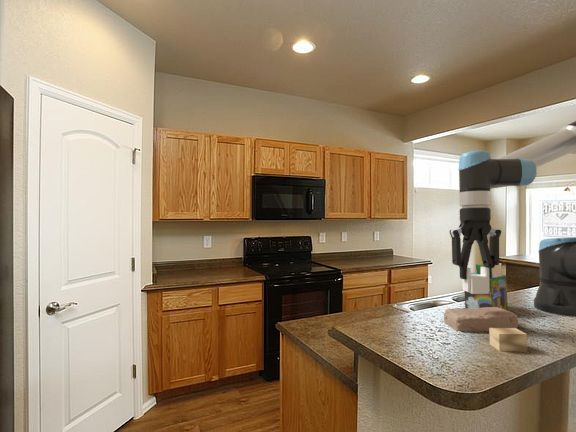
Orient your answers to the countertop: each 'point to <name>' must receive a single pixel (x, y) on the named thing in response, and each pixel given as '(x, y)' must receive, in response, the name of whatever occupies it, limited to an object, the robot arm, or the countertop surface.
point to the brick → (479, 319)
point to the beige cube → (479, 284)
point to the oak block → (508, 339)
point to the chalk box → (495, 296)
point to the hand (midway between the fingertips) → (475, 290)
